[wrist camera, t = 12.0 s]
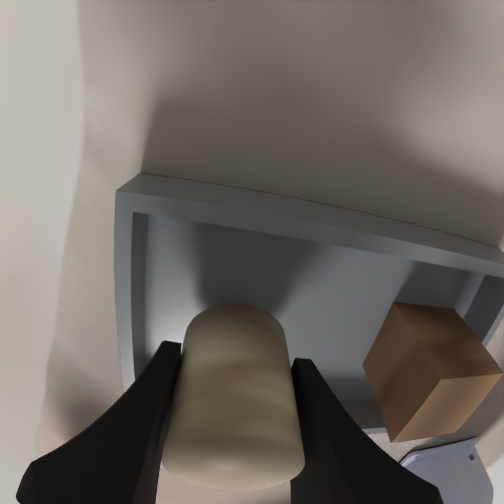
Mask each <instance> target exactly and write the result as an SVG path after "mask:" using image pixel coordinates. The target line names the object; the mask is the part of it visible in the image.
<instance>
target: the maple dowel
mask: <svg viewBox="0 0 504 504" xmlns="http://www.w3.org/2000/svg"><path fill="white" fill-rule="evenodd" d="M162 463H163V465H164V467H165V468H166V470H167V471H168V472H169V473H171V474H172V475H173V476H175V477H176V478H178V479H180V480H182V481H184V482H186V483H188V484H191V485H194V486H197V487H201V488H205V489H210V490H216V491H225V492H248V491H257V490H263V489H268V488H272V487H275V486H278V485H281V484H283V483H286V482H288V481H290V480H291V479H293V478H295V477H296V476H297V475H298V474H299V473H300V472H301V471H302V470H303V468H304V465H305V458H304V451H303V444H302V437H301V431H300V424H299V418H298V411H297V405H296V398H295V392H294V385H293V379H292V373H291V367H290V360H289V354H288V348H287V342H286V336H285V332H284V330H283V328H282V326H281V324H280V323H279V321H278V320H277V319H276V318H275V317H274V316H272V315H271V314H270V313H268V312H266V311H265V310H263V309H260V308H258V307H255V306H252V305H247V304H240V303H227V304H221V305H216V306H213V307H210V308H208V309H206V310H204V311H202V312H201V313H199V314H198V315H197V316H196V317H194V318H193V320H192V321H191V322H190V324H189V325H188V327H187V330H186V333H185V337H184V342H183V347H182V351H181V358H180V363H179V368H178V373H177V378H176V382H175V386H174V391H173V397H172V402H171V407H170V413H169V418H168V424H167V429H166V435H165V441H164V447H163V452H162Z"/></svg>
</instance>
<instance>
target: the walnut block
mask: <svg viewBox="0 0 504 504" xmlns="http://www.w3.org/2000/svg"><path fill="white" fill-rule="evenodd" d="M362 366H363V369H364V371H365V374H366V376H367V379H368V382H369V384H370V387H371V389H372V392H373V395H374V397H375V400H376V403H377V405H378V408H379V411H380V414H381V416H382V419H383V422H384V425H385V428H386V430H387V433H388V436H389V439H390V442H391V443H395V442H402V441H410V440H416V439H422V438H428V437H434V436H439V435H444V434H449V433H454V432H456V431H457V430H458V429H459V428H460V427H461V426H462V425H463V424H464V423H465V421H466V420H467V419H468V418H469V417H470V416H471V415H472V413H473V412H474V411H475V410H476V409H477V407H478V406H479V405H480V404H481V402H482V401H483V400H484V399H485V397H486V396H487V395H488V394H489V392H490V391H491V390H492V388H493V387H494V386H495V385H496V383H497V382H498V380H499V379H500V378H501V376H502V375H503V374H504V373H503V371H502V370H501V369H500V367H499V366H498V364H497V363H496V362H495V360H494V359H493V358H492V356H491V355H490V354H489V352H488V351H487V350H486V348H485V347H484V346H483V344H482V343H481V342H480V340H479V339H478V338H477V337H476V335H475V334H474V333H473V331H472V330H471V329H470V328H469V326H468V325H467V324H466V323H465V321H464V320H463V319H462V318H461V317H460V315H459V314H458V313H457V312H456V310H455V309H454V308H445V307H436V306H426V305H417V304H408V303H399V302H393V303H392V306H391V308H390V310H389V312H388V314H387V316H386V318H385V321H384V323H383V325H382V327H381V329H380V331H379V333H378V335H377V337H376V339H375V341H374V343H373V345H372V347H371V349H370V351H369V353H368V355H367V357H366V359H365V360H364V362H363V364H362Z"/></svg>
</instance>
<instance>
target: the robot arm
mask: <svg viewBox="0 0 504 504" xmlns="http://www.w3.org/2000/svg"><path fill="white" fill-rule="evenodd" d="M181 346H182V343H178V342H172V341H166V340H164V341H162V342H161V344H160V346H159V348H158V349H157V351H156V353H155V354H154V356H153V357H152V359H151V360H150V361H149V363H148V364H147V366H146V367H145V368H144V370H143V371H142V372H141V374H140V375H139V376H138V377H137V379H136V380H135V381H134V382H133V384H132V385H131V386H130V387H129V388H128V389H127V390H126V392H125V393H124V394H123V395H122V396H121V397H120V398H119V399H118V400H117V401H116V402H115V403H114V404H113V405H112V406H111V407H110V408H109V409H108V410H107V411H106V412H105V413H104V414H103V415H102V416H101V417H99V418H98V419H97V420H96V421H95V422H93V423H92V424H91V425H90V426H89V427H87V428H86V429H85V430H84V431H82V432H81V433H80V434H78V435H77V436H75V437H74V438H72V439H71V440H69V441H68V442H66V443H65V444H63V445H62V446H60V447H59V448H57V449H55V450H53V451H52V452H50V453H48V454H46V455H44V456H42V457H40V458H38V459H37V460H35V461H33V462H31V463H30V465H29V467H28V468H27V470H26V472H25V474H24V475H23V477H22V480H21V483H20V485H19V488H18V491H17V494H16V498H17V501H18V502H19V503H20V504H155V501H156V493H157V485H158V477H159V470H160V463H161V458H162V452H163V447H164V441H165V435H166V429H167V424H168V418H169V413H170V407H171V402H172V397H173V391H174V386H175V382H176V378H177V373H178V368H179V363H180V358H181ZM291 373H292V379H293V385H294V392H295V398H296V405H297V411H298V418H299V424H300V431H301V437H302V444H303V451H304V458H305V465H304V468H303V470H302V471H301V472H300V473H299V474H298V475H297V476H296V477H295V478H293V479H291V480H290V482H291V504H492V501H493V486H492V483H491V481H490V479H489V476H488V474H487V472H486V470H485V467H484V465H483V463H482V461H481V459H480V457H479V454H478V452H477V450H476V448H475V446H474V445H475V444H476V443H477V442H478V441H479V440H478V438H473V439H469V440H466V441H462V442H458V443H454V444H449V445H445V446H440V447H436V448H431V449H426V450H420V451H415V452H412V453H410V454H409V455H407V456H406V457H405V458H404V459H403V460H402V461H401V462H400V463H398V462H397V461H395V460H394V459H393V458H392V457H391V456H389V455H388V454H387V453H386V452H385V451H383V450H382V449H381V448H380V447H379V446H378V445H377V444H376V443H375V442H374V441H373V440H372V439H371V438H370V437H369V436H368V435H367V434H366V433H365V432H364V431H363V430H362V429H361V428H360V427H359V426H358V425H357V423H356V422H355V421H354V420H353V419H352V417H351V416H350V415H349V414H348V412H347V411H346V410H345V408H344V407H343V406H342V404H341V403H340V402H339V400H338V399H337V397H336V396H335V395H334V393H333V392H332V390H331V389H330V387H329V386H328V384H327V383H326V381H325V380H324V378H323V377H322V375H321V373H320V372H319V370H318V369H317V367H316V366H315V364H314V363H313V361H312V360H311V359H305V358H295V359H294V362H293V364H292V367H291Z"/></svg>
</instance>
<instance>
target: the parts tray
mask: <svg viewBox="0 0 504 504" xmlns="http://www.w3.org/2000/svg"><path fill="white" fill-rule="evenodd" d="M114 274H115V302H116V320H117V334H118V346H119V356H120V366H121V374H122V382H123V390H124V393H125V392H126V390H127V389H128V388H129V387H130V386H131V385H132V384H133V382H134V381H135V380H136V379H137V377H138V376H139V375H140V374H141V372H142V371H143V370H144V368H145V367H146V366H147V364H148V363H149V361H150V360H151V359H152V357H153V356H154V354H155V353H156V351H157V349H158V348H159V346H160V344H161V342H162V341H164V340H166V341H172V342H178V343H182V346H181V351H182V347H183V342H184V337H185V333H186V330H187V327H188V325H189V324H190V322H191V321H192V320H193V318H194V317H196V316H197V315H198V314H199V313H201V312H202V311H204V310H206V309H208V308H210V307H213V306H216V305H221V304H227V303H240V304H247V305H252V306H255V307H258V308H260V309H263V310H265V311H266V312H268V313H270V314H271V315H272V316H274V317H275V318H276V319H277V320H278V321H279V323H280V324H281V326H282V328H283V330H284V332H285V336H286V342H287V348H288V354H289V360H290V367H292V364H293V362H294V359H295V358H305V359H311V360H312V361H313V363H314V364H315V366H316V367H317V369H318V370H319V372H320V373H321V375H322V377H323V378H324V380H325V381H326V383H327V384H328V386H329V387H330V389H331V390H332V392H333V393H334V395H335V396H336V397H337V399H338V400H339V402H340V403H341V404H342V406H343V407H344V408H345V410H346V411H347V412H348V414H349V415H350V416H351V417H352V419H353V420H354V421H355V422H356V423H357V425H358V426H359V427H360V428H361V429H362V430H363V431H364V432H365V433H366V434H377V433H387V430H386V428H385V425H384V422H383V419H382V416H381V414H380V411H379V408H378V405H377V403H376V400H375V397H374V395H373V392H372V389H371V387H370V384H369V382H368V379H367V376H366V374H365V371H364V369H363V366H362V364H363V362H364V360H365V359H366V357H367V355H368V353H369V351H370V349H371V347H372V345H373V343H374V341H375V339H376V337H377V335H378V333H379V331H380V329H381V327H382V325H383V323H384V321H385V318H386V316H387V314H388V312H389V310H390V308H391V306H392V303H393V302H399V303H408V304H417V305H426V306H436V307H445V308H454V309H455V310H456V312H457V313H458V314H459V315H460V317H461V318H462V319H463V320H464V321H465V323H466V324H467V325H468V326H469V328H470V329H471V330H472V331H473V333H474V334H475V335H476V337H477V338H478V339H479V340H480V342H481V343H482V344H483V346H484V347H485V348H486V346H487V344H488V343H489V341H490V340H491V338H492V336H493V335H494V333H495V331H496V329H497V328H498V326H499V324H500V322H501V321H502V319H503V317H504V252H502V251H501V250H500V249H499V248H496V247H493V246H490V245H486V244H483V243H479V242H476V241H472V240H469V239H465V238H462V237H458V236H455V235H451V234H447V233H444V232H440V231H436V230H432V229H428V228H425V227H421V226H417V225H413V224H409V223H405V222H401V221H397V220H393V219H388V218H384V217H380V216H376V215H371V214H367V213H363V212H358V211H354V210H349V209H345V208H340V207H336V206H331V205H326V204H321V203H316V202H312V201H307V200H302V199H296V198H291V197H286V196H281V195H276V194H270V193H265V192H259V191H254V190H248V189H242V188H236V187H230V186H224V185H218V184H212V183H206V182H199V181H192V180H186V179H179V178H172V177H165V176H157V175H150V174H142V173H139V174H138V175H137V176H135V177H134V178H132V179H131V180H130V181H128V182H127V183H126V184H124V185H123V186H122V187H120V188H119V189H118V190H116V199H115V227H114Z"/></svg>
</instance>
